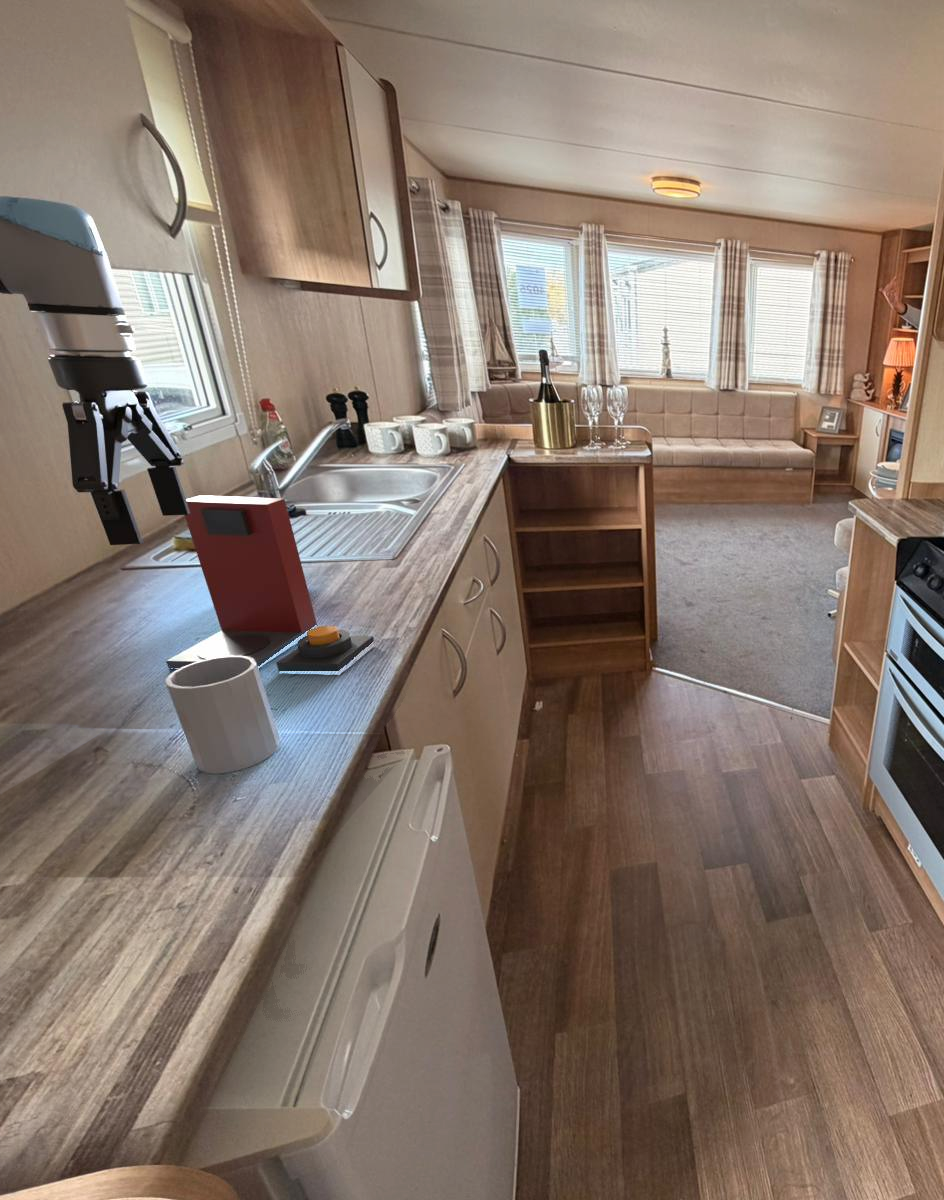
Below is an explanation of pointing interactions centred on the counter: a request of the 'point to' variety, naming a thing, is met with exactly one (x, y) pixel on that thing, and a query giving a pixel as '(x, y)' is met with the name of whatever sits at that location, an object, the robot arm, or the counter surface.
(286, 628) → the coffee machine
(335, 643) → the control block
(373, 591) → the counter surface
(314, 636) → the button
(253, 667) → the white tumbler
